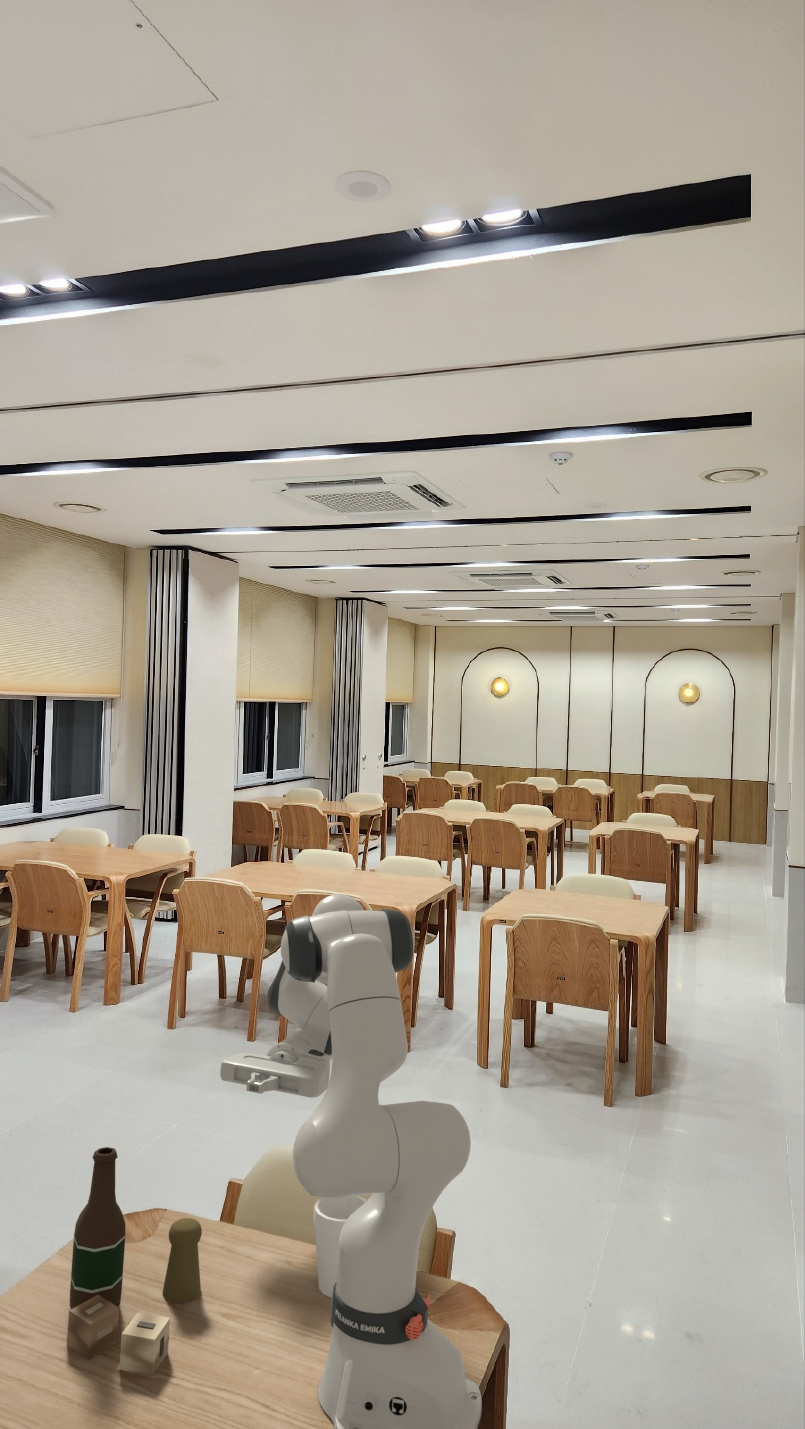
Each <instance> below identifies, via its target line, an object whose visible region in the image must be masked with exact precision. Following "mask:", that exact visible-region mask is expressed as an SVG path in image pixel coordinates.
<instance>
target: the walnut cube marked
mask: <svg viewBox="0 0 805 1429" xmlns="http://www.w3.org/2000/svg"><path fill="white" fill-rule="evenodd" d="M119 1320H120V1306H119V1307H117V1306H116V1305H114V1304H112V1303H111V1302H109V1301H108V1300H106V1299H104V1298H103V1297H101V1296H99V1295H97V1296H95V1297H93V1298H91V1299H89V1300H87V1301H86V1302H84V1303H82V1304H80V1305H78V1306H77V1307H75V1308H73V1309H71V1308H70V1309H69V1310H68V1321H67V1339H66V1346H67V1347H69V1348H70V1349H71V1350H73V1351H74V1352H76V1353H77V1354H79V1355H80V1356H81V1357H83V1358H85V1359H86V1360H88V1361H89V1360H91V1359H92V1358H94V1357H96V1356H97V1355H99V1354H100V1353H102V1352H103V1351H105V1350H107V1349H108V1348H110V1347H112V1346H114V1345H115V1344H116V1343H118V1336H119V1335H118V1334H119V1322H120V1321H119Z"/></svg>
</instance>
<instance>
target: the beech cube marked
mask: <svg viewBox="0 0 805 1429" xmlns="http://www.w3.org/2000/svg"><path fill="white" fill-rule="evenodd" d="M170 1322H171V1317H168V1316H167V1317H166V1316H161V1315H156V1314H149V1313H145V1312H144V1313H143V1312H137V1313H136V1314H135V1315H134V1317H133V1318H132V1319H131V1320H130V1322H129V1324H127V1326H126V1327H125V1329H124V1330H123V1331H122V1332H121V1339H120V1351H119V1353H120V1355H119V1367H118V1368H119V1369H118V1370H120V1371H124V1372H125V1371H126V1372H130V1373H131V1372H132V1373H135V1374H141V1375H147V1376H152V1377H153V1376H154V1374H155V1373H156V1371H157V1370H158V1368H159V1366H160V1365H161V1364H162V1362H163V1361H164V1359H165V1357H166V1356H167V1355H168V1353H169V1342H170V1341H169V1339H170V1328H171V1327H170V1325H171V1323H170Z"/></svg>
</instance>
